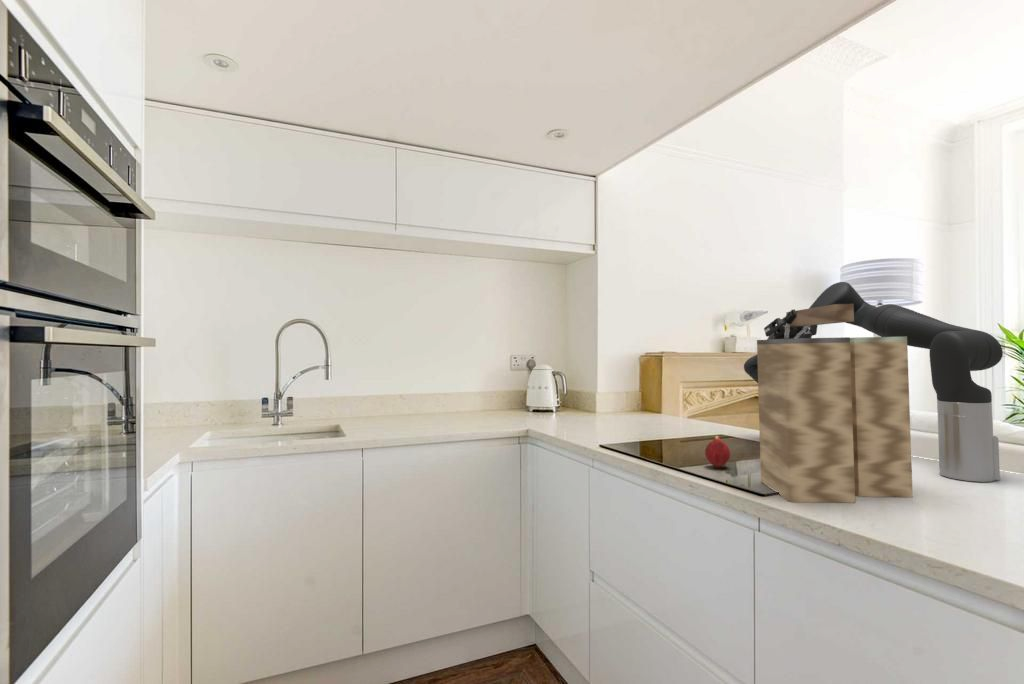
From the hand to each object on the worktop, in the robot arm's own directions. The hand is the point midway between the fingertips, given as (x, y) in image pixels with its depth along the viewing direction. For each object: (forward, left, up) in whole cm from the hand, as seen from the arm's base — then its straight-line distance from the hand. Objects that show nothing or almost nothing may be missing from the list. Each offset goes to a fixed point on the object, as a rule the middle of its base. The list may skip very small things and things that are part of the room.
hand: (803, 312), depth 130 cm
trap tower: (+14, +28, -39) cm, 50 cm away
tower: (0, +24, -39) cm, 46 cm away
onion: (+25, +7, -40) cm, 47 cm away
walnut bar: (0, +7, -4) cm, 8 cm away
